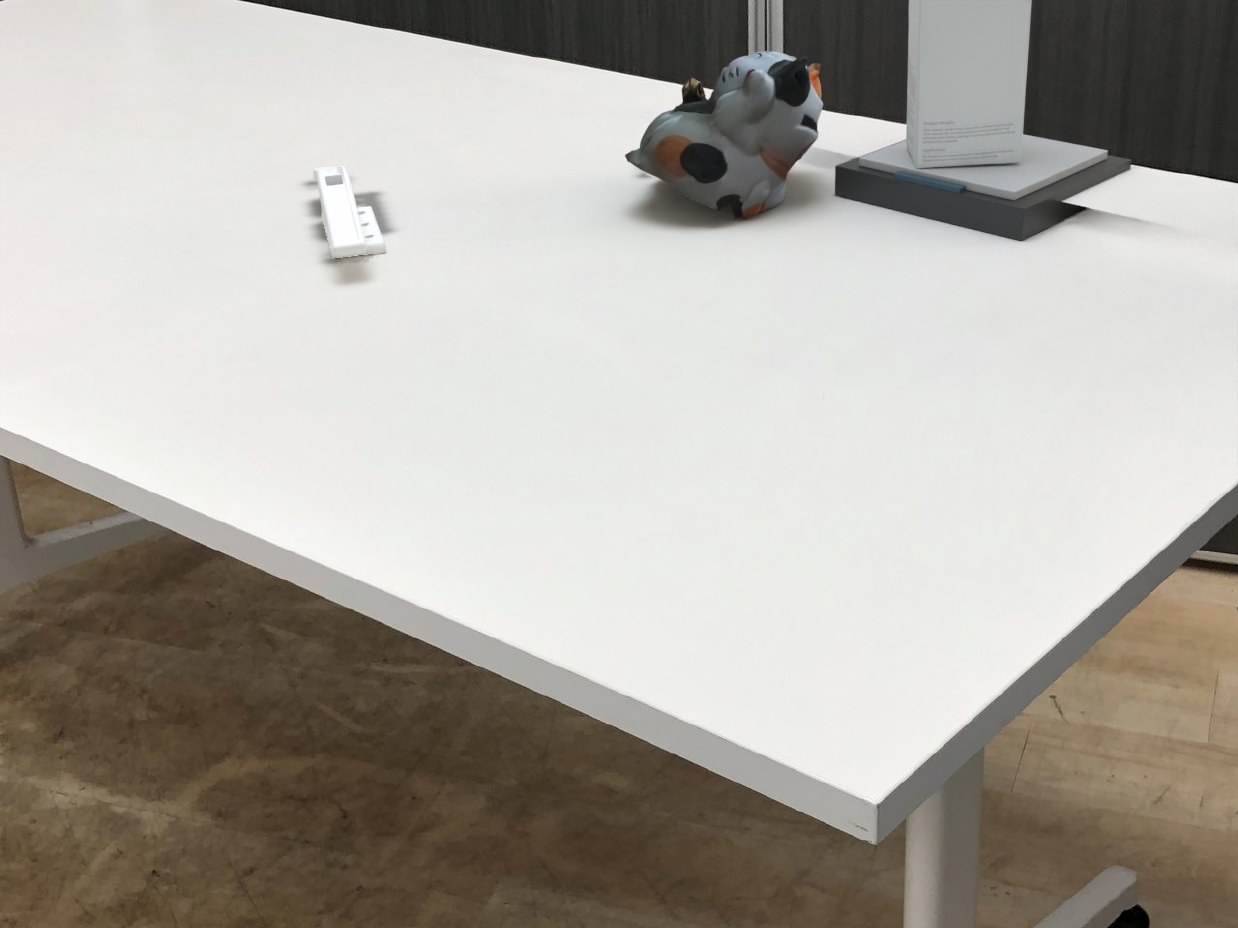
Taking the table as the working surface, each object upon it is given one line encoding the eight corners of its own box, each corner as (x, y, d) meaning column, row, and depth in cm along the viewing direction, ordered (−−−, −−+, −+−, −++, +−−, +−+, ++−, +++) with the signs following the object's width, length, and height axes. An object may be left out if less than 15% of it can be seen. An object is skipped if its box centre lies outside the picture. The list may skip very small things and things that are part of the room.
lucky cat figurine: (669, 165, 123) (746, 13, 118) (787, 236, 120) (871, 82, 115) (597, 164, 109) (680, -8, 104) (727, 243, 106) (819, 70, 101)
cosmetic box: (1006, 144, 113) (1023, -53, 106) (1022, 167, 108) (1041, -39, 101) (899, 148, 114) (909, -49, 107) (910, 171, 109) (920, -34, 102)
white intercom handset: (366, 195, 120) (357, 131, 117) (395, 277, 103) (386, 203, 100) (317, 202, 119) (307, 136, 116) (338, 285, 102) (327, 211, 99)
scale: (1127, 189, 112) (1132, 150, 111) (1021, 241, 103) (1025, 199, 102) (944, 151, 123) (947, 115, 122) (834, 195, 114) (835, 157, 113)
